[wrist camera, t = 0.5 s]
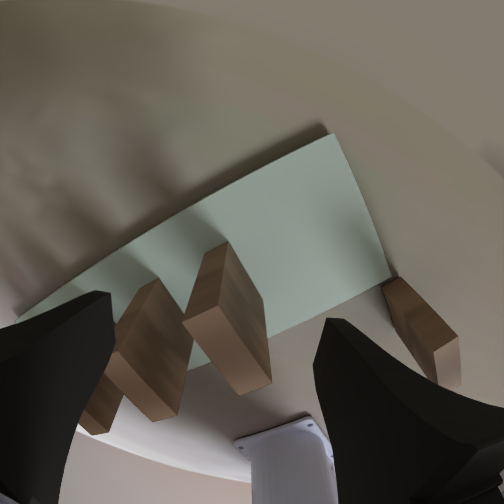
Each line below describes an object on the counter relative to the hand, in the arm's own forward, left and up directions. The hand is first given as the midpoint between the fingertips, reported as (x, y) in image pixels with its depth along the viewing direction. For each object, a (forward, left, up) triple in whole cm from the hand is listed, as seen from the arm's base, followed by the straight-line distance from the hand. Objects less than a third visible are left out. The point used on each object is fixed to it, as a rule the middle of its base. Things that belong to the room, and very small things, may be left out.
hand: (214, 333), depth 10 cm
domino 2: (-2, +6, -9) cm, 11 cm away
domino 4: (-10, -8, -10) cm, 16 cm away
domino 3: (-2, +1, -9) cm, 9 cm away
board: (-2, +6, -10) cm, 11 cm away
